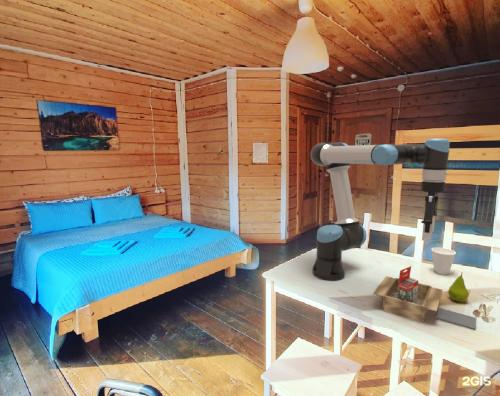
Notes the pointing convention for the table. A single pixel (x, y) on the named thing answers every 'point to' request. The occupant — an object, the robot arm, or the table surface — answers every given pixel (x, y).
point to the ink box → (407, 287)
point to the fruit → (458, 290)
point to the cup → (442, 260)
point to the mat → (456, 318)
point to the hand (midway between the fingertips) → (427, 236)
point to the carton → (404, 307)
